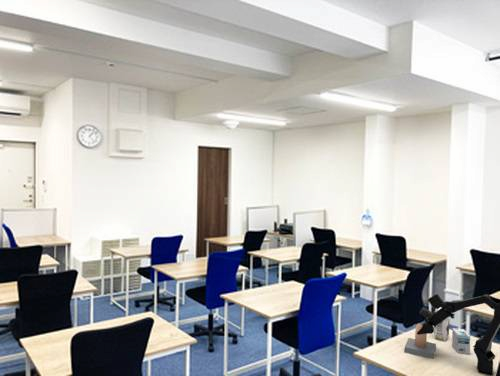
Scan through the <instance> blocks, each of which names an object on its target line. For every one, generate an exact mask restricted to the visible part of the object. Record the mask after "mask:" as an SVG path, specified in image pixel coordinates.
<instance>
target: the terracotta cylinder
mask: <svg viewBox="0 0 500 376" xmlns="http://www.w3.org/2000/svg"><path fill="white" fill-rule="evenodd" d="M421 328H422V325H421V324H415V331H414V333H415V334H414V335H415V336H414V339H415V345H416V346H417V347H420V348H425V347H426V342H428V341H427V340H428V339H427V338H428V336H427V335H428V334H419V335H418V334H417V332H418V331H419V330H420V329H421Z"/></svg>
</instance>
